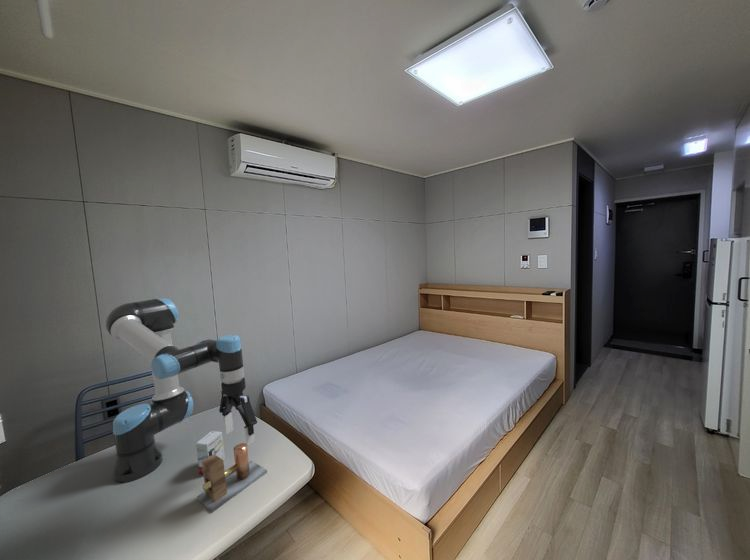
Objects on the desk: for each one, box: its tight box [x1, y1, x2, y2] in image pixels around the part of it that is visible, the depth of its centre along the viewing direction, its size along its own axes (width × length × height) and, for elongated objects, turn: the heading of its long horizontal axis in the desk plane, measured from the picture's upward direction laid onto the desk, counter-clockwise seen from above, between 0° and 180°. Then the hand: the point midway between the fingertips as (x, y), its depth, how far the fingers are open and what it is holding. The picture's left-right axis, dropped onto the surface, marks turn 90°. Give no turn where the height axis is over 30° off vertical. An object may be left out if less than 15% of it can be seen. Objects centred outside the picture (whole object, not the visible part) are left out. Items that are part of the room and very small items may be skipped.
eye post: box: [196, 454, 268, 513], centre depth 105 cm, size 10×20×13 cm, turn 145°
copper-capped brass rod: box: [202, 442, 250, 492], centre depth 103 cm, size 4×15×11 cm, turn 145°
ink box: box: [195, 430, 226, 474], centre depth 116 cm, size 9×5×12 cm, turn 168°
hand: (239, 437), depth 107 cm, fingers open, 13 cm apart
